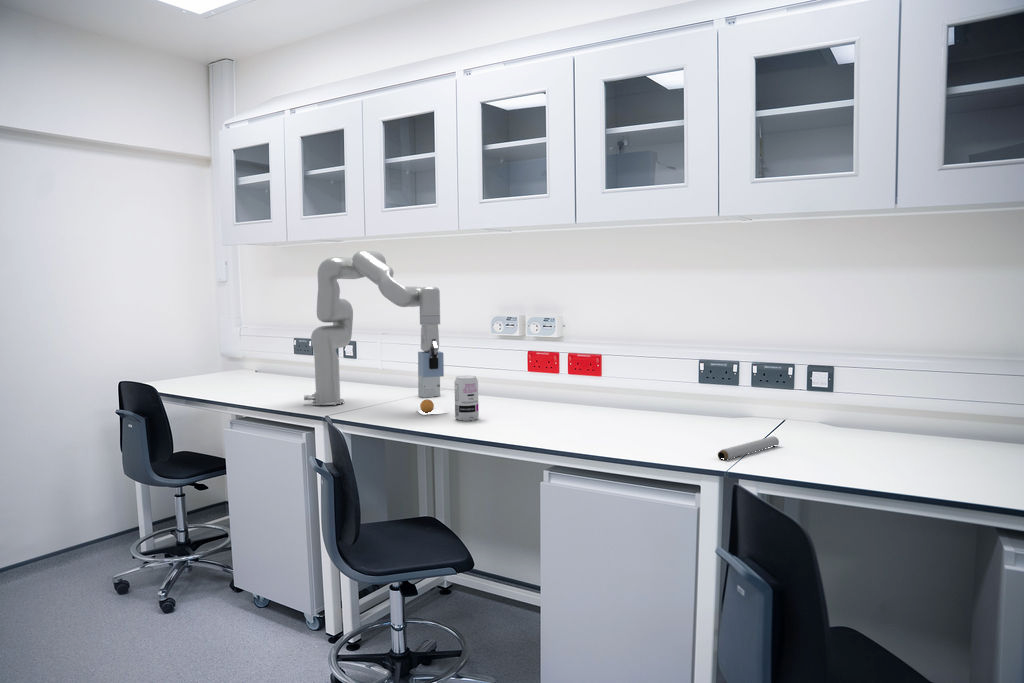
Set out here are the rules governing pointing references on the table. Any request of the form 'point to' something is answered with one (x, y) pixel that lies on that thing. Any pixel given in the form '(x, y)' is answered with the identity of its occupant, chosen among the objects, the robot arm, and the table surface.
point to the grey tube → (748, 448)
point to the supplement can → (466, 398)
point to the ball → (426, 406)
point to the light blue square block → (424, 365)
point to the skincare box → (428, 386)
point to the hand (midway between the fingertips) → (431, 367)
